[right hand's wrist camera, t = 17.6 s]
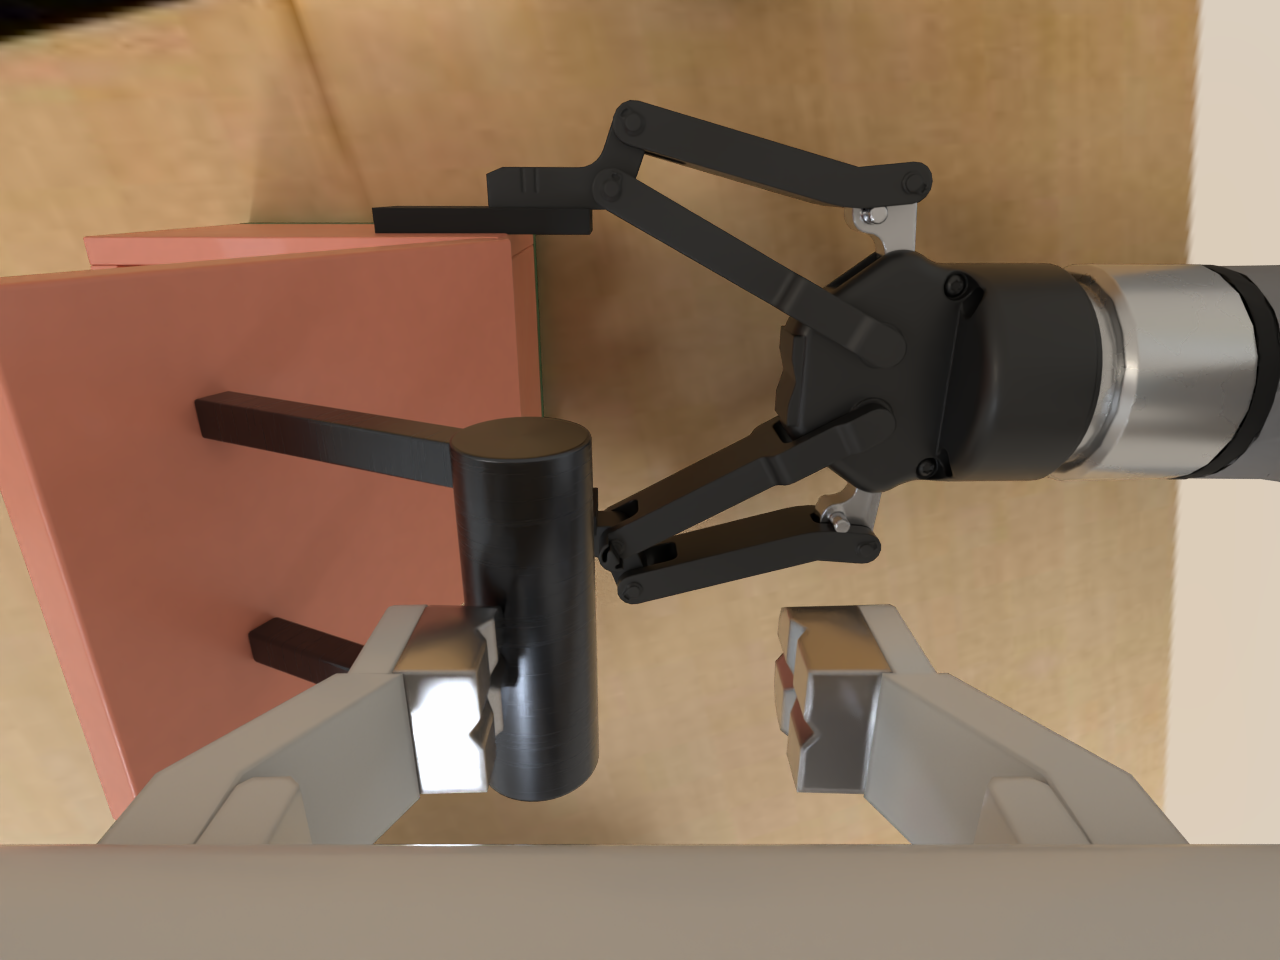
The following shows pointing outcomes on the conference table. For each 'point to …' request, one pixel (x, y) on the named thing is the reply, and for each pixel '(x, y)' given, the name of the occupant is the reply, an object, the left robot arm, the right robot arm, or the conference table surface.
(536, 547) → the lid
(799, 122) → the conference table surface
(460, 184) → the conference table surface
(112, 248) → the chest
